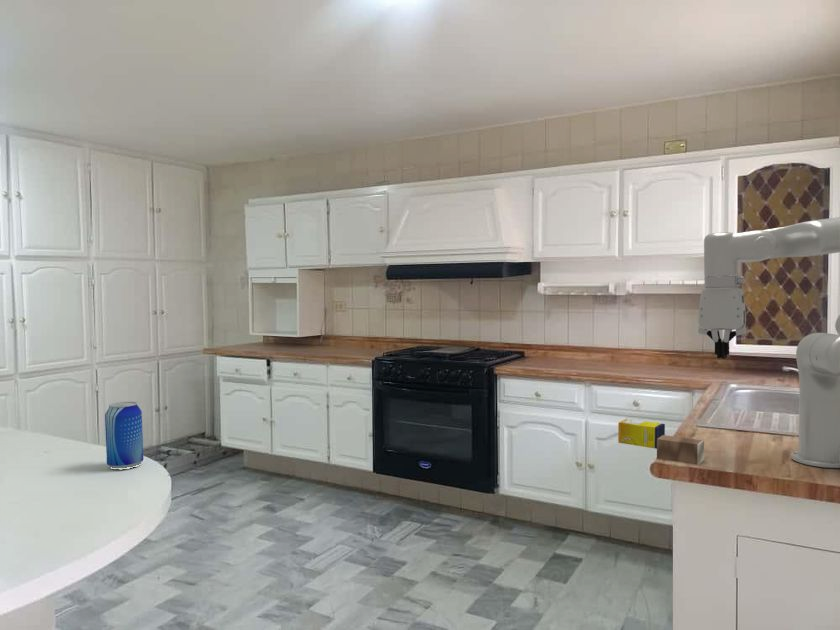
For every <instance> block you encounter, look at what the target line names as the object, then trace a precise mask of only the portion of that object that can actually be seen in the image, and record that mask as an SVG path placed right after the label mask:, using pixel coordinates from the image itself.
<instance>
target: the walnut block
mask: <svg viewBox="0 0 840 630" xmlns="http://www.w3.org/2000/svg"><path fill="white" fill-rule="evenodd" d="M656 459H659V460H664V461H672V462H679V463H683V464H684V463H685V464H690V463H691V464H692V465H697V464H698V465H697V466H700V464H701V463H703V461H705V440H703V439H696V438H688V437H682V436H681V437H680V436H674V435H673V436H672V435H666V434H665V435H662V436H661V437H659V438H658V439H657V449H656ZM691 464H690V465H691Z"/></svg>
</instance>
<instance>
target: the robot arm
mask: <svg viewBox="0 0 840 630" xmlns="http://www.w3.org/2000/svg"><path fill="white" fill-rule="evenodd" d="M837 253H840V216H838V217H837V216H836V217H829V218H821V219H813V220H808V221H807V220H806V221H803V222H799V223H794V224H790V225H786V226H782V227H775V228H769V229H768V228H767V229H762V230H761V229H755V230H749V231H743V232H713V233H709V234H707V235H705V237H704V239H703V260H704V263H703V264H704V266H703V267H704V269H703V270H704V272H703V273H704V289H701V293H700V298H699V306H698V307H699V308H698V331H697V332H698V333H699V335H700V334H701V335H704V336H708V337H709V338H710V339H711V340H712V342H713V343H714V355H716V358H717V359H723V360H724V359H727V358H728V356H729V355H730V342H731V341H732V340H733V339H734V338H735V337H736V336H737V337H738V336H742V335H746V333H747V329H746V325H747V313H746V303H745V302H746V301H745V296H744V291H743V288H739V287H740V286H741V285H742V284H745V283H746V278H745V277H740V275H739V263H749V262H750V263H753V262H756V263H757V262H761V261H765V260H769V259H770V260H771V259H778V258H793V257H794V258H797V257H798V258H804V257H805V258H806V257H813V256H816V257H817V256H824V255H829V254H837ZM834 324H835V325H834V327H835V331H836V333H837V334H835V333H827V332H814V333H809V334H808V335H805V336H804V337H802V339H801V340H800V341H799V342H798V344H797V346H796V350H795V351H796V352H795V357H796V358H795V359H796V364H797V371H798V377H799V378H798V381H799V383H798V384H799V389H798V390H799V391H798V392H799V397H798V401H799V402H798V404H799V405H798V450H794V451H792V452H791V454H790V458H791V459H792V460H793V461H795V462H797V463H800V464H803V465H806V466H810V467H818V468H827V469H840V314H839V315H838V317H837V318H836V320H835V323H834ZM721 330H722V331H723V330H724V331H723V332H724V333H723V339H722V338H721V332H720V331H721Z"/></svg>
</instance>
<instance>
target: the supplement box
mask: <svg viewBox="0 0 840 630" xmlns="http://www.w3.org/2000/svg"><path fill="white" fill-rule="evenodd" d="M617 428H618V433H617V435H618V437H617V439H618V440H617V441H618V443H619V444H626V445H632V446H637V447H644V448H651V449H656V450H657V439H658V438H659V437H661V436H662V435H666V434H665V432H666V424H665V423H661V422H660V423H659V422H652V421H647V420H646V421H645V420H639V419H638V420H637V419H631V418H625V419H623V420H621V421H619V422H618V427H617Z"/></svg>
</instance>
